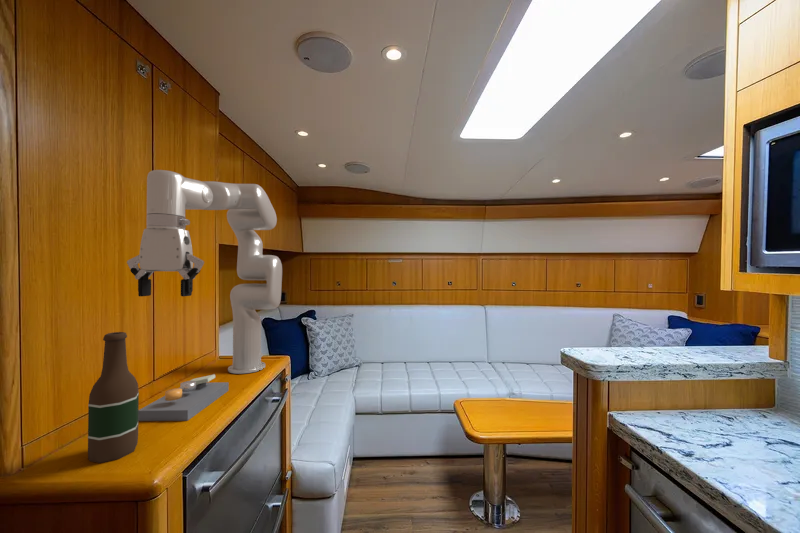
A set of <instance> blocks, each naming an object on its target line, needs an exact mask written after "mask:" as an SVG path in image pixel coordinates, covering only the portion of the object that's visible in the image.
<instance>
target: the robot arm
mask: <svg viewBox="0 0 800 533" xmlns="http://www.w3.org/2000/svg"><path fill="white" fill-rule="evenodd" d="M186 210H203V211H205V210H206V211H223V210H227V212H226V219H227V223H228V224H229V226H230V228H231V230H232V231H233V233H234V235H235V237H236V239H237V259H236V260H237V262H236V273H237V277H239V279H241V280H243V281H265V282H266V283H239V284H237V285H234V286H233V287H232V289H231V290H230V294H229V299H230V306H231V309H232V364H231V365H230V366H228V368H227V372H228V373H231V374H236V375H237V374H239V375H240V374H241V375H243V374H250V373H256V372H259V370H260V371H262V370H264V369H265V368H266V363H265V362H263V361H262V357H263V356H264V354H263V352H262V320H261V317H260V315H259V314H258V312H257V311H256V310H275V309H277V308H278V307H279V306H280V304H281V300H282V284H283V283H282V282H283V264H282V261H281V259H280V258H279V256H277V255H274V254H273V255H272V254H263V253H264V252H263V250H264V248H263V246H264V245H263V241H262V238H261V237H260V235H258V233H257V232H256V231H271V230H273V229H274V228H275V227H276V226H277V221H278V218H277V214H276V210H275V209H274V207H273V204H272V203H271V200H270V198H269V196H268V194H267V193H266V191H265V190H264V188H263V187H262V186H260V185H259V184H256V183H232V182H231V183H230V182H223V181H214V180H212V181H211V180H210V181H209V180H208V181H205V180H204V181H203V180H202V181H201V180H198V179H193V178H188V177H185V176H184V175H182V174H181V173H178V172H175V171H172V170H165V169H164V170H163V169H153V170H151V171H149V172H148V173H147V178H146V228H144V229H143V232H142V236H141V241H140V247H139V248H140V249H139V254H138V255H136V256H134V257H132V258H130V259H128V260H127V261H126V264H127V265H128V267H129V269H130V273H132V275H134V278H135V280H137V291H138V293H137V294H138V297H149V296H151V295H152V279H151V276H152V275H153V273H154V272H178V273H179V275H180V276H181V277H182V278H183V279H180V296H181V297H190V296H192V294H193V290H194V289H193V287H194V285H193V283H194V282H193V280H195V278H196V276H198V274H200V273H201V270H202V268H203V266H204V264H205V261H204V260H203V259H202V258H199V257H198V256H195V255H193V254H194V252H193V246H192V240H191V235H190V231H189V230H186V228H187V227H186V226H190V224H191V221H190V219H187V217H186ZM138 264H139V265H138ZM263 368H264V369H263Z"/></svg>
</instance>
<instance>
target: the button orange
mask: <svg viewBox="0 0 800 533" xmlns="http://www.w3.org/2000/svg"><path fill="white" fill-rule="evenodd" d="M164 394H165V395H164V396H165V400H166V401H172V400H177V399H180V398H181V397H182V389H180V387H178V388H177V387H176V388H171V389H168V390H166V391H165V392H164Z"/></svg>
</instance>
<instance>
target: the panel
mask: <svg viewBox="0 0 800 533" xmlns="http://www.w3.org/2000/svg"><path fill="white" fill-rule="evenodd" d="M229 385H230V384H229V382H228V381H227V382H225V381H224V382H206V383H201V384H197V385H196V389H195V390H192V391H188V392H182V397H181V398H180V399H177V400H172V401H166V400H165V395H164V396H161V397H160V398H158V399H157V400H155V401H153V402H151V403H148V404H147V405H146V406H144V407H142V408H139V409H138V422H161V421H162V422H166V421H167V422H169V421H170V422H172V421H173V422H174V421H175V422H177V421H180V422H181V421H183V422H184V421H189V420H190V419H192V418H194V416H196V415H198V414H199V413H200V412H201V411H203V410H204V409H206V408H207V407H208V406H210V405H211V404H213V403H214V402H215V401H217V400H218V399H219V398H221V396H224V394H226V393H227V392H229V388H230V386H229Z"/></svg>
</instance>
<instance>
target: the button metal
mask: <svg viewBox="0 0 800 533" xmlns="http://www.w3.org/2000/svg"><path fill="white" fill-rule="evenodd" d="M179 388H180V389H182V392H188V391H192V390H195V389H196V381H190V380H186V381H183V382H181V383H180V387H179Z"/></svg>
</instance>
